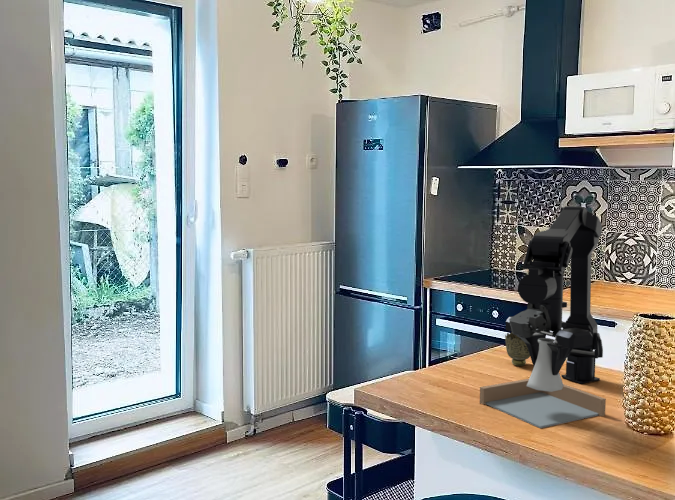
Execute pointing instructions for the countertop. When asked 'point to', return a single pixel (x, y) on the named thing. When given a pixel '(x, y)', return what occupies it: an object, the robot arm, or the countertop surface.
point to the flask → (544, 370)
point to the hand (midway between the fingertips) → (545, 371)
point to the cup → (516, 349)
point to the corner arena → (542, 403)
